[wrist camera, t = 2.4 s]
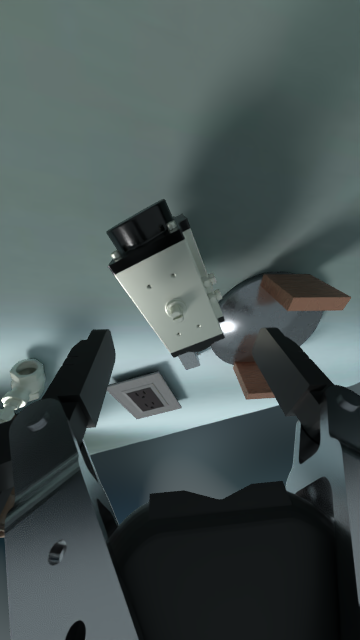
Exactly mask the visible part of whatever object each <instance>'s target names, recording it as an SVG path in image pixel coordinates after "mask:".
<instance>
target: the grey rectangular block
mask: <svg viewBox="0 0 360 640" xmlns="http://www.w3.org/2000/svg"><path fill="white" fill-rule="evenodd" d="M178 357H179V358H180V360H181V362H182V364H183V365H184V367H185V369H186V370H188V369H191V368H194V367H197V366H200V363H199V358H198V355H197V352H187V353H185V354H182V355H179V356H178Z"/></svg>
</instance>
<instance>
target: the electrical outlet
mask: <svg viewBox="0 0 360 640" xmlns="http://www.w3.org/2000/svg"><path fill="white" fill-rule="evenodd" d="M107 391H108V392H109V393H110V394H111V395H112V396H113V397H114V398H115V399H116V400H117V401H118V402H120V403H121V404H122V405H123V406H124V407H125V408H126V409H127V410H128V411H129V412H130V413H131V414H132V415H133V416H134V417H135V418H136V419H140V418H144V417H148V416H152V415H156V414H160V413H164V412H168V411H172V410H176V409H180V408H181V405H180V404H179V402H178V401H177V399H176V397H175V396H174V394H173V393H172V391H171V390H170V388H169V386H168V385H167V383H166V382H165V380H164V379H163V377H162V375H161V374H160V372H159V371H157V372H153V373H149V374H146V375H142V376H138V377H135V378H131V379H128V380H124V381H121V382H117V383H114V384H110V385H108V387H107Z"/></svg>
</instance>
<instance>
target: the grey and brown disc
mask: <svg viewBox="0 0 360 640" xmlns="http://www.w3.org/2000/svg"><path fill="white" fill-rule="evenodd" d="M350 299H351V297H350V296H348V295H346V294H345V293H343V292H341V291H339V290H337V289H335V288H334V287H332V286H330V285H328V284H326V283H324V282H323V281H321V280H319V279H317V278H315V277H313V276H312V275H310V274H292V273H288V272H270V273H265V274H261V275H258V276H254V277H252V278H250V279H247V280H245V281H243V282H242V283H240V284H238V285H237V286H235V287H234V288H232V289H231V290H230V291H229V292H228V293H226V294H225V295H224V296H223V297H222V299H221V300H220V301H219V302H218V303H219V306H220V308H221V311H222V314H223V316H224V319H225V321H224V322H221V323H219V324H220V326H221V329H222V331H223V334H224V336H225V338H224V339H222V340H219V341H216V342H214V343H213V344H212V345H211V348H212V350H213V351H214V353H215V354H216V355H217V356H218V357H219V358H220V359H222V360H223V361H225V362H227V363H230V364H233V365H234V367H233V369H234V371H235V374H236V376H237V379H238V381H239V383H240V386H241V388H242V391H243V393H244V396H245V398H246V399H261V398H275V396H274V394H273V392H272V391H271V389H270V387H269V385H268V384H267V382H266V380H265V378H264V376H263V375H262V373H261V371H260V369H259V367H258V366H257V364H256V362H255V360H254V358H253V355H252V349H253V346H254V343H255V341H256V338H257V335H258V333H259V330H260V329H261V328H268V327H276V328H278V329H279V330H280V331H281V332H282V333H283V334H284V335H285V337H288V338H290V339H291V340H292V341H294V342H295V343H297V344H298V346H301V345H302V344H303V343H304V342H305V341H306V340H307V339H308V338H309V337H310V336H311V334H312V333H313V332H314V330H315V329H316V327H317V325H318V324H319V321H320V319H321V316H322V312H323V311H325V310H343V309H344V307H345V306H346V304H347V303H348V302H349V300H350Z"/></svg>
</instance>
